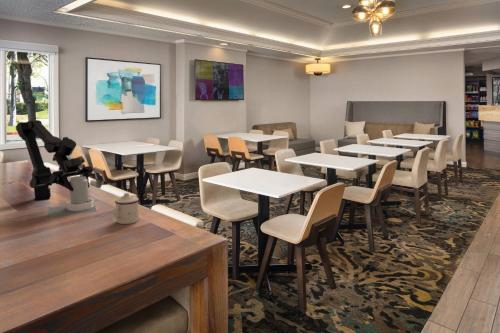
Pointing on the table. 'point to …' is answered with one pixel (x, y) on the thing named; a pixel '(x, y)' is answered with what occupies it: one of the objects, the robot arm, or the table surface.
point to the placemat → (66, 211)
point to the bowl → (80, 206)
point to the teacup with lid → (126, 209)
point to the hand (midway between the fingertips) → (80, 189)
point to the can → (79, 190)
